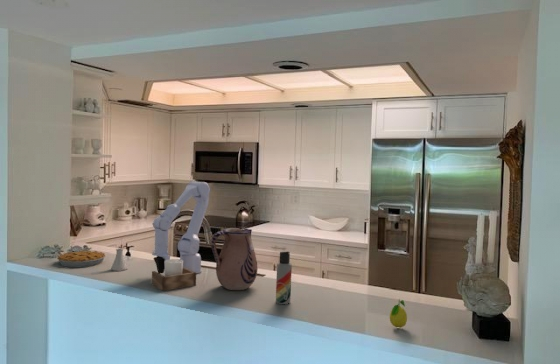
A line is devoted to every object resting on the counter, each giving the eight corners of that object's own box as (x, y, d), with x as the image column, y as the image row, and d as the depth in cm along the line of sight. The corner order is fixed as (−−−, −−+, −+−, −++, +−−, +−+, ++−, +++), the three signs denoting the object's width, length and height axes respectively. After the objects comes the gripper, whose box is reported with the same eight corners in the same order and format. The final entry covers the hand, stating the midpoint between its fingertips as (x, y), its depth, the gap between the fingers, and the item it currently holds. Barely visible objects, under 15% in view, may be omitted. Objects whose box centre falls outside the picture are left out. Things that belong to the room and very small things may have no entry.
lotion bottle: (279, 305, 163) (281, 253, 162) (273, 301, 168) (274, 250, 167) (293, 303, 166) (294, 252, 165) (286, 299, 171) (287, 249, 170)
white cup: (173, 287, 181) (174, 264, 181) (159, 284, 185) (160, 261, 185) (186, 283, 188) (187, 260, 188) (172, 280, 192) (173, 258, 192)
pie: (114, 261, 225) (114, 252, 225) (80, 270, 205) (80, 260, 205) (82, 256, 233) (83, 247, 233) (47, 264, 213) (47, 254, 213)
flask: (130, 269, 209) (130, 248, 209) (117, 272, 203) (118, 251, 203) (120, 267, 213) (121, 247, 213) (107, 269, 207) (108, 249, 207)
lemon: (403, 325, 147) (405, 296, 147) (411, 331, 141) (412, 301, 141) (385, 325, 146) (386, 296, 146) (391, 332, 140) (392, 301, 140)
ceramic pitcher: (265, 288, 185) (267, 230, 184) (227, 298, 169) (229, 235, 168) (238, 280, 197) (240, 225, 196) (200, 288, 181) (202, 229, 180)
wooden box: (183, 279, 195) (184, 267, 194) (195, 285, 186) (196, 272, 186) (151, 284, 185) (152, 271, 185) (162, 290, 176) (163, 277, 176)
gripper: (146, 241, 199) (145, 270, 199) (159, 246, 187) (158, 277, 188) (161, 240, 203) (160, 268, 204) (174, 245, 192) (173, 275, 192)
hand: (160, 273), depth 196 cm, fingers closed
